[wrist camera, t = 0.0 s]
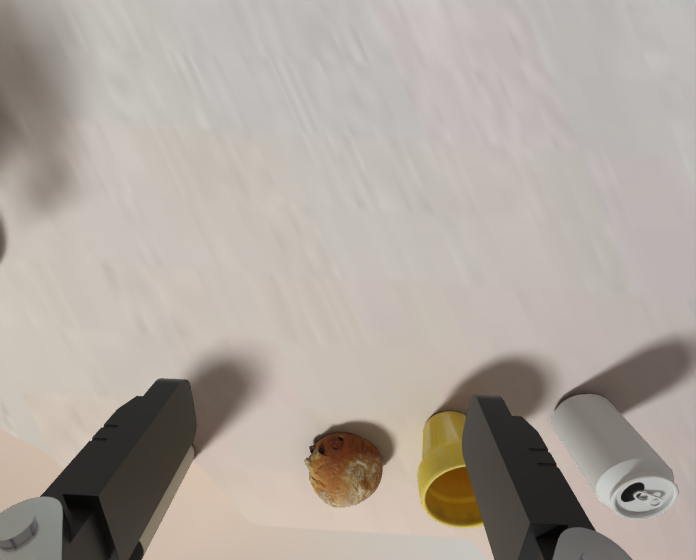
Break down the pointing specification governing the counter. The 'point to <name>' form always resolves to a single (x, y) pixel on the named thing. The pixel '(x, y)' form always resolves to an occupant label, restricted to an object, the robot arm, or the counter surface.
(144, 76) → the counter surface
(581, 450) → the can
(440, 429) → the plant pot
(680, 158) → the counter surface
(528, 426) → the robot arm
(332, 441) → the bread roll
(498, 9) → the counter surface
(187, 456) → the travel mug
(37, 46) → the counter surface
